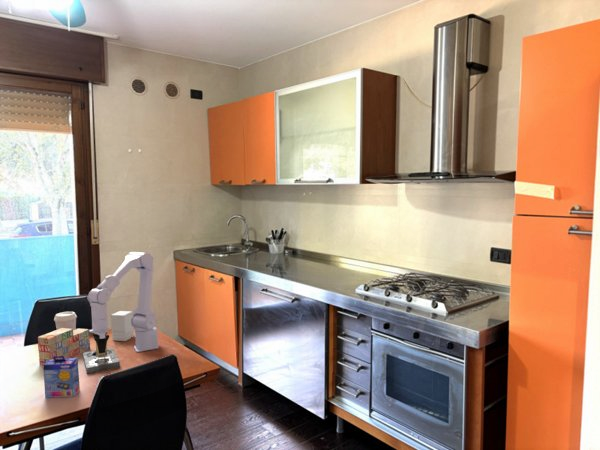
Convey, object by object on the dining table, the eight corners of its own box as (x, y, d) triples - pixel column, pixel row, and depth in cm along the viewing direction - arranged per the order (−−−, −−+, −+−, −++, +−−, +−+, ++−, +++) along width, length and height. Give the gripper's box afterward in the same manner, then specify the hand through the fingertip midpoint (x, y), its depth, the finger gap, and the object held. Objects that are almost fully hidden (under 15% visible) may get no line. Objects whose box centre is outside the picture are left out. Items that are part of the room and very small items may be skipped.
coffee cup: (82, 344, 207) (81, 312, 206) (62, 350, 199) (60, 317, 198) (71, 340, 212) (69, 310, 211) (51, 346, 204) (49, 315, 203)
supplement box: (134, 336, 217) (133, 311, 216) (125, 341, 210) (124, 315, 209) (121, 335, 218) (120, 310, 217) (111, 340, 211) (110, 314, 210)
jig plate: (113, 352, 195) (112, 347, 194) (119, 367, 178) (119, 361, 178) (83, 358, 188) (82, 352, 188) (87, 374, 172) (86, 367, 172)
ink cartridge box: (44, 398, 152) (41, 358, 151) (51, 391, 157) (49, 352, 156) (73, 397, 153) (71, 356, 152) (80, 390, 158) (78, 350, 157)
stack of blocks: (79, 347, 202) (78, 321, 201) (90, 349, 200) (89, 322, 199) (39, 365, 182) (37, 336, 181) (51, 367, 180) (49, 337, 179)
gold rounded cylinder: (106, 353, 182) (106, 336, 181) (107, 356, 178) (107, 339, 178) (96, 355, 180) (95, 338, 179) (96, 358, 176) (96, 341, 176)
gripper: (87, 315, 182) (88, 347, 183) (90, 324, 169) (92, 358, 170) (105, 312, 185) (107, 344, 186) (110, 321, 173) (112, 355, 174)
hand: (101, 351), depth 179 cm, fingers closed on gold rounded cylinder, 4 cm apart
